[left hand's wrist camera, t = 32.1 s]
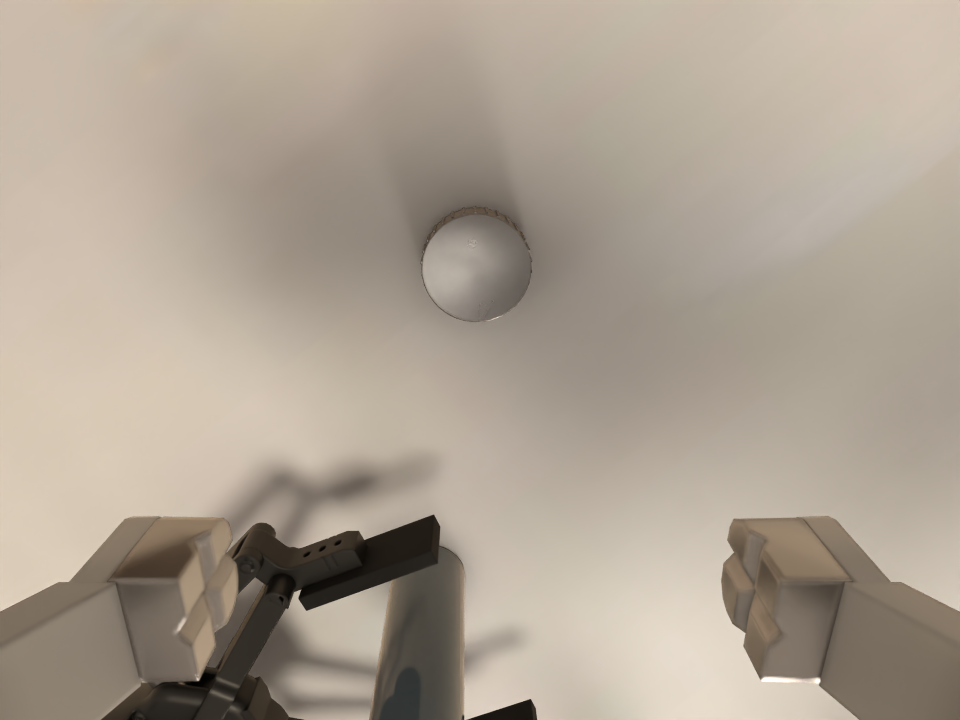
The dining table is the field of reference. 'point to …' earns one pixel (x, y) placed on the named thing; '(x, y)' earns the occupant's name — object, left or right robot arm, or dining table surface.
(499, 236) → the lid
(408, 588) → the grey cylinder
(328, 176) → the dining table surface
